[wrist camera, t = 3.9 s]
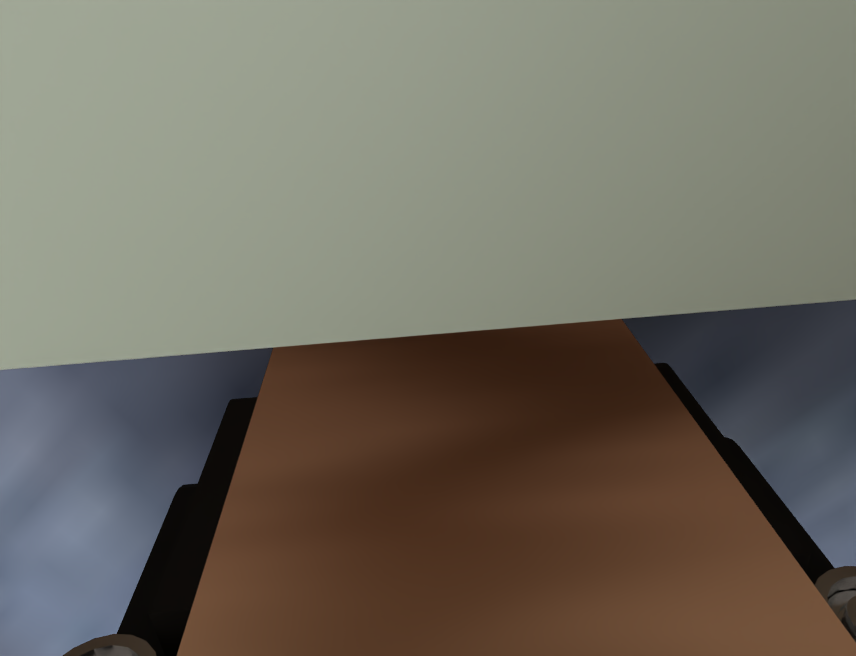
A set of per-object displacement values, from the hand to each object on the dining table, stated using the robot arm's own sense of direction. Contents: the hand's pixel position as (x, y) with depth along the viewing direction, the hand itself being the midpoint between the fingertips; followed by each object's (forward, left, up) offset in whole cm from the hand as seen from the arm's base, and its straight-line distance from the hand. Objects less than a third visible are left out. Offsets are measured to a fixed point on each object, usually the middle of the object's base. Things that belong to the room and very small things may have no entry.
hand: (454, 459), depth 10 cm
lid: (0, -14, +3) cm, 14 cm away
